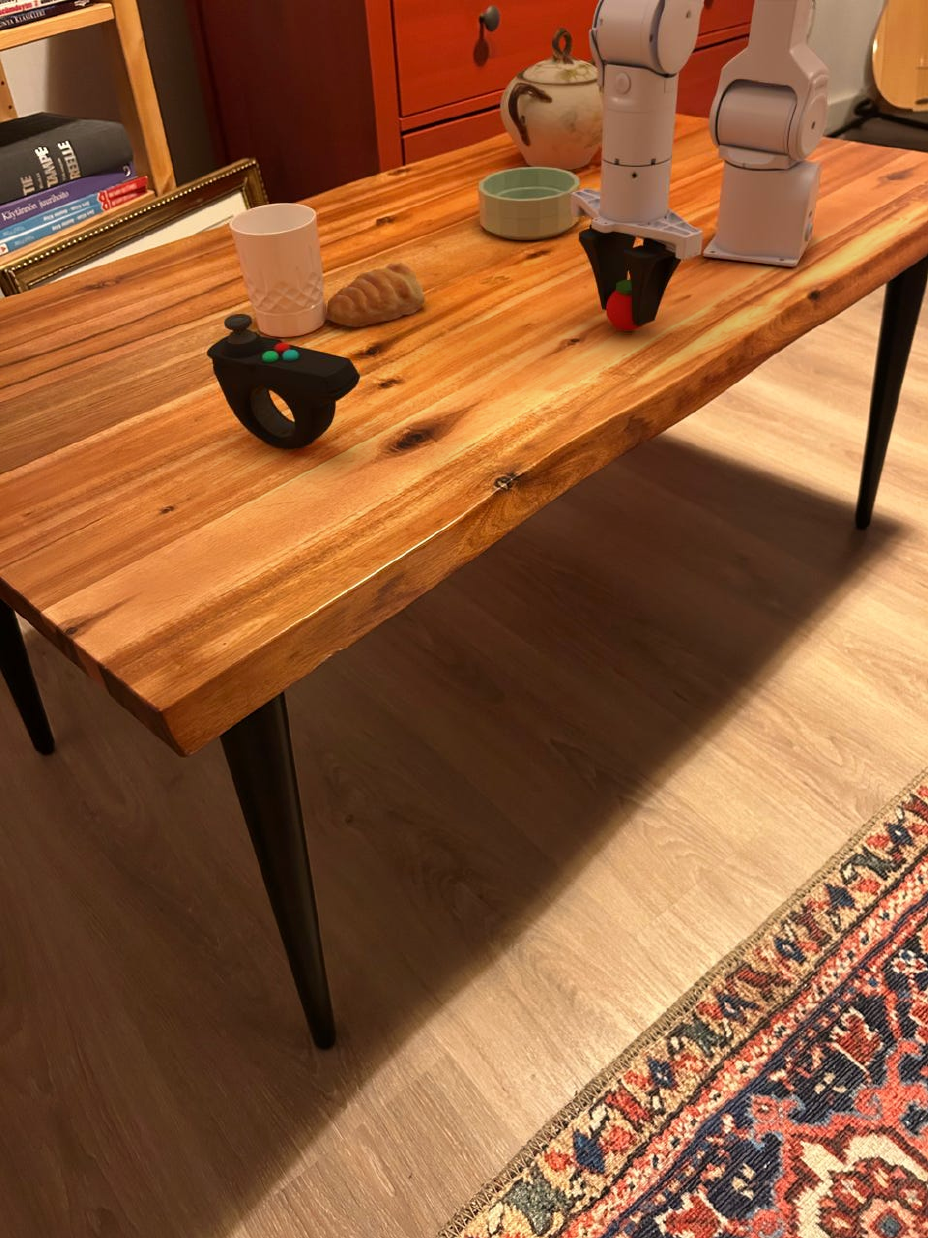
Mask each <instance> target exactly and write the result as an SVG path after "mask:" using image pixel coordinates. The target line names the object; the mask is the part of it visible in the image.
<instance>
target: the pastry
mask: <svg viewBox="0 0 928 1238" xmlns="http://www.w3.org/2000/svg"><path fill="white" fill-rule="evenodd" d="M424 302H425V294H424V292H423V289H422V287H421V284H420V283H419V281H418V280H417V278H416V276H415V272H414V271H413V270H412V269H411V268H410V267H409V266H408V265H406V264H405V263H403V262H399V263H393V262H390V263H389V264H388V265H387V266H386V267H384V268H376V269H375V268H374V269H372V270H370V271H366V272H362V273H360V274H359V275H357V276H356V277H355V279H354V280H353V281H352V282H351V283H349V284H348V285H347V286H343V287H341V288H340V289H339V290H338V291H337V292H336V293H335V294H333V296H332V297H331V298H330V299H328V301H327V306H326V314H327V318H326V319H328V320H329V321H331V322H333V323H336V324H339V325H341V326H345V327H352V328H354V329H356V327H360V328H362V327H366V326H369V325H378V324H380V323H384V322H386V321H387V322H389V321H393V320H396V319H400V318H401V317H402V316H404V315H407V316H410V315H412V314H415V313H417V311H419V310H420V309H421V308H422V305H423V303H424Z"/></svg>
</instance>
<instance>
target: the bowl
mask: <svg viewBox="0 0 928 1238" xmlns="http://www.w3.org/2000/svg"><path fill="white" fill-rule="evenodd" d="M580 182H581V181H580V177H579V176H578V175H576V174H574V173H573V172H572V171H570V170H567V171H565V170H561V169H558V168H548V167H532V166H525V167H523V166H521V167H515V168H510V169H502V170H499V171H498V172H494V173H490V174H488V175H486V176H485V177H484V178H482V179H481V180H480V181H479V182H478V188H477V194H478V209H479V210H478V214H479V217H478V218H479V225H480V226H481V227H482V228H483V229H485V230H486V231H487V232H489V233H491V234H493V235H494V236H497V237H500V238H503V239H508V240H517V241H532V240H541V239H547V238H552V237H555V236H558V235H561V234H563V233H565V232H567V231H568V230H569V229H571V228H572V227H573V226H575V225H576V224H577V223H578V222H579V221H580V217H575V216H573V215H571V193H573V192H576V191H579V190H581V183H580Z"/></svg>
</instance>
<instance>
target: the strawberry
mask: <svg viewBox="0 0 928 1238" xmlns="http://www.w3.org/2000/svg"><path fill="white" fill-rule="evenodd" d="M605 311H606V317H607V319H608V321H609V323H610V324H611V325H612V326H613V327H614V328H615V329H616V330H619V331H622V332H634V331H636V330H638V329H640V328H642V326H636V325H634V324H633V320H632V289H631V280H630V279H627V280H622V281H620V282H618V283H617V284H616V290H615V291H614V292H613V293H612V294H611V296H610V297H609V299H608V302H607V306H606V310H605Z"/></svg>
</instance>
